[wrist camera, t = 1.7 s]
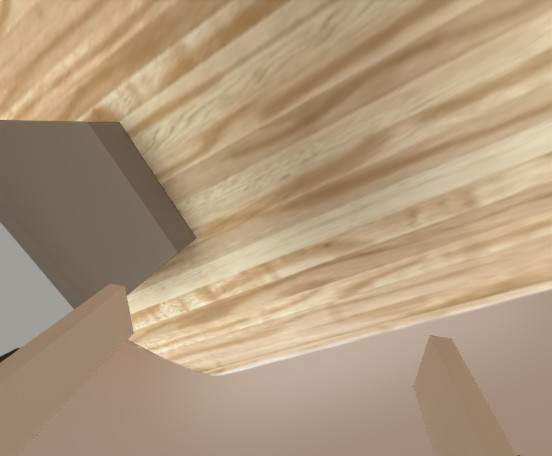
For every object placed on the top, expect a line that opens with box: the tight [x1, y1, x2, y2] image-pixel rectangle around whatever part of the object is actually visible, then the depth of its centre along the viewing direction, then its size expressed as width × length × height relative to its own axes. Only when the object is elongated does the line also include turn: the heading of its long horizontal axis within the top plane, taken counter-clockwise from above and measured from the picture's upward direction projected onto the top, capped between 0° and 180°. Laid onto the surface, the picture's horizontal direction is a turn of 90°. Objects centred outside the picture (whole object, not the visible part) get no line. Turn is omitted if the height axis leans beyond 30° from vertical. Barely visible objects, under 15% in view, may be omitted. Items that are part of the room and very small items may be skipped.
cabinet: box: [0, 120, 196, 356], centre depth 31 cm, size 19×16×19 cm
